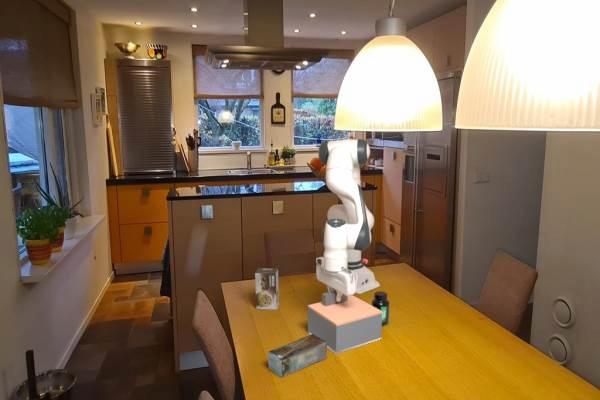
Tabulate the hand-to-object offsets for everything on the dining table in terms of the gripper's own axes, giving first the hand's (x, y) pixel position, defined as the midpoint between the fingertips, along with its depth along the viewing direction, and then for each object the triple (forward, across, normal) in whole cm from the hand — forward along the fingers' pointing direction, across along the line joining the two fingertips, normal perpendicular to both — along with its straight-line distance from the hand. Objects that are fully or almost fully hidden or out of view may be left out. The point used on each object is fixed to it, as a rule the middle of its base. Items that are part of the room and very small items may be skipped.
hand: (334, 299), depth 166 cm
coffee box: (+12, +32, +12) cm, 36 cm away
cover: (+2, -6, 0) cm, 6 cm away
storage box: (+12, -6, 0) cm, 14 cm away
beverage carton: (+13, -13, +24) cm, 30 cm away
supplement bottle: (+12, -4, -19) cm, 23 cm away
